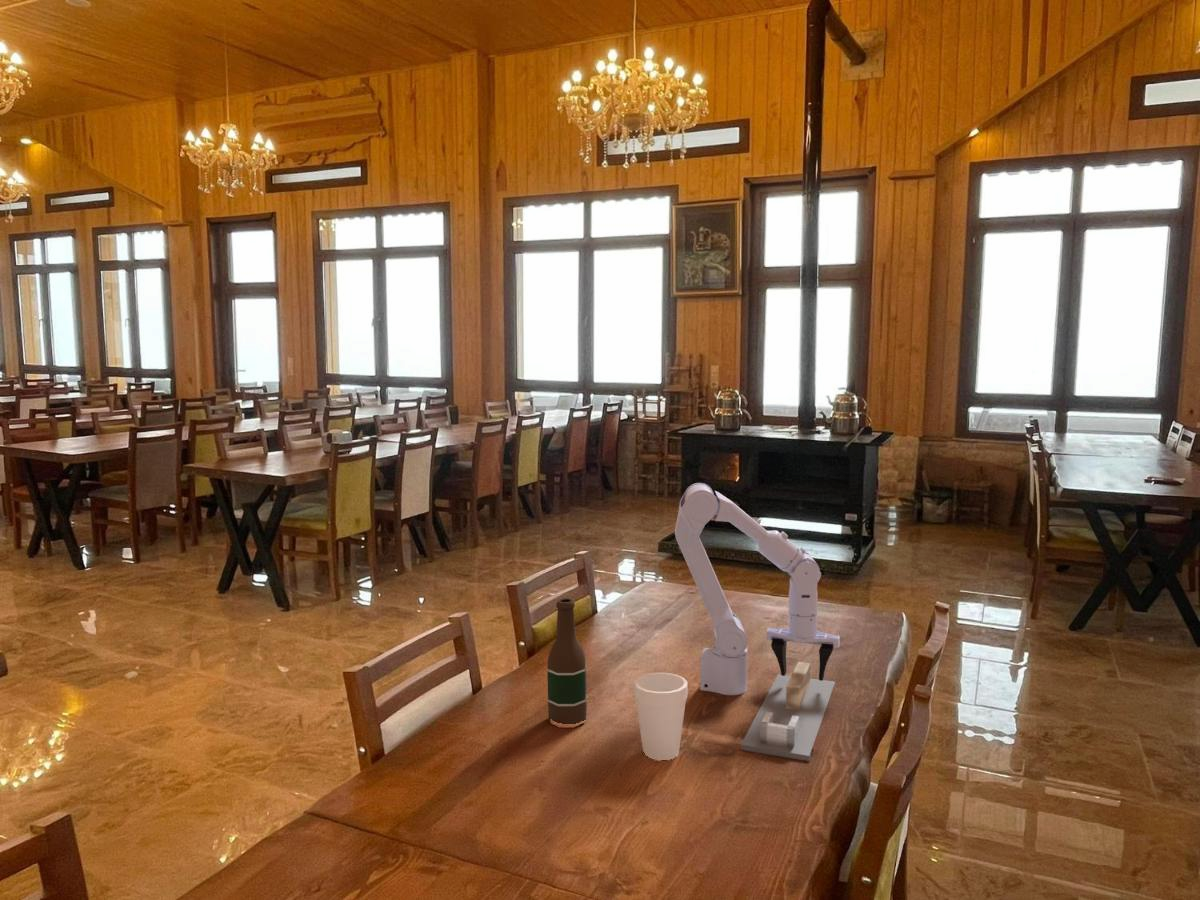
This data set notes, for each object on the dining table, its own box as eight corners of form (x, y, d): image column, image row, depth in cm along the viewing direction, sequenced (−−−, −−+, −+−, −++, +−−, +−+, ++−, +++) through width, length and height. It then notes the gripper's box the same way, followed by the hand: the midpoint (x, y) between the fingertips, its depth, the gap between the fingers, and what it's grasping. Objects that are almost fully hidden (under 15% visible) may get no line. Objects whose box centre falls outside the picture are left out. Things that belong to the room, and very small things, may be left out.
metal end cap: (760, 742, 153) (760, 724, 152) (766, 729, 158) (766, 711, 157) (793, 748, 150) (793, 729, 150) (798, 734, 156) (799, 716, 155)
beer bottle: (594, 715, 167) (592, 597, 164) (576, 732, 160) (574, 608, 157) (559, 709, 170) (556, 592, 167) (540, 725, 163) (537, 603, 160)
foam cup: (651, 770, 145) (651, 697, 144) (625, 747, 154) (624, 678, 152) (698, 757, 150) (698, 686, 148) (669, 736, 158) (669, 668, 156)
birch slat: (786, 708, 167) (786, 686, 166) (798, 682, 180) (798, 661, 179) (798, 710, 166) (799, 688, 165) (810, 683, 179) (810, 663, 178)
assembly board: (740, 749, 152) (741, 744, 152) (778, 678, 184) (778, 674, 184) (809, 761, 148) (809, 755, 148) (835, 686, 180) (835, 681, 180)
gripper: (763, 614, 174) (763, 678, 175) (836, 622, 168) (836, 688, 170) (770, 604, 180) (770, 666, 182) (841, 611, 175) (840, 675, 176)
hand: (802, 676), depth 176 cm, fingers open, 7 cm apart
